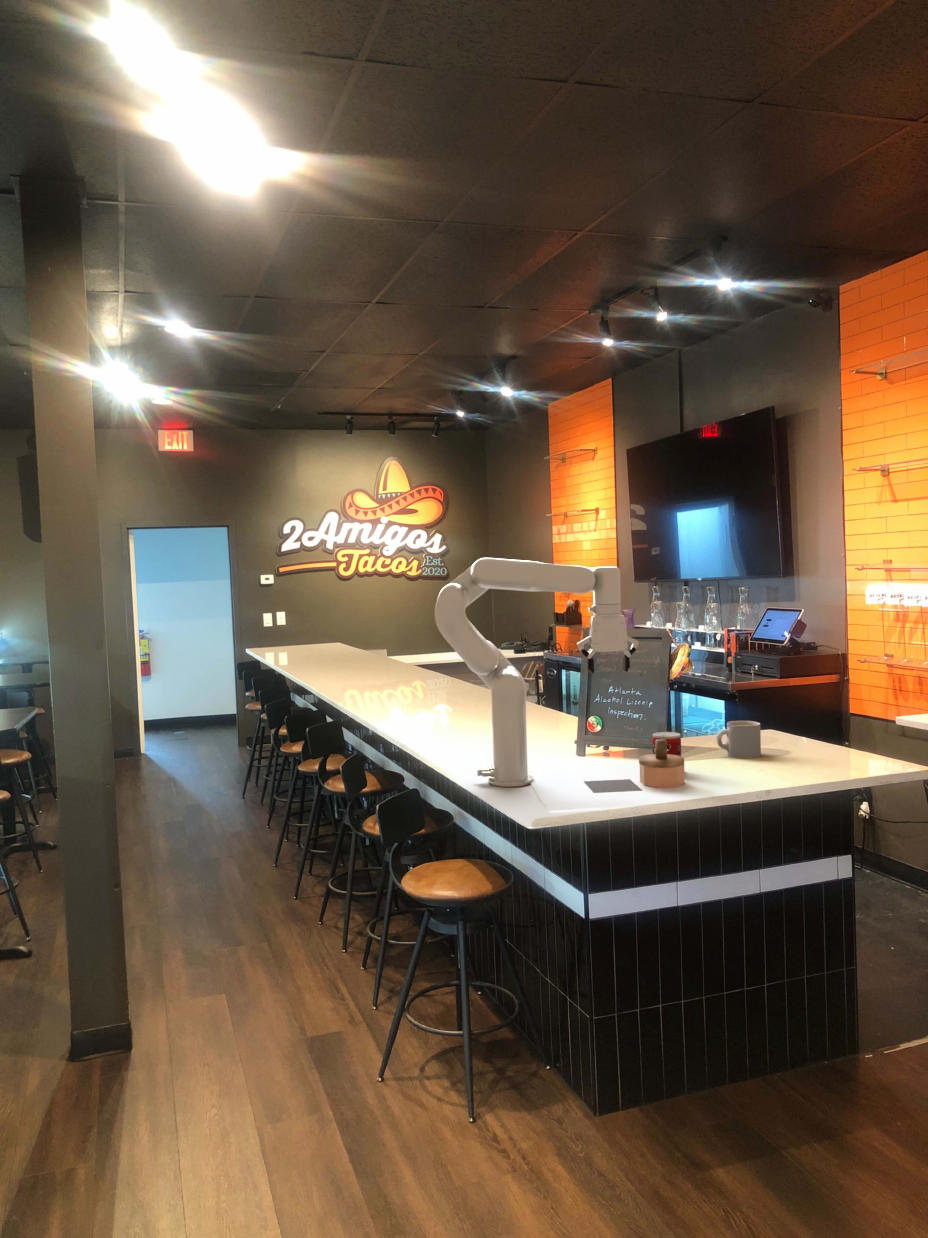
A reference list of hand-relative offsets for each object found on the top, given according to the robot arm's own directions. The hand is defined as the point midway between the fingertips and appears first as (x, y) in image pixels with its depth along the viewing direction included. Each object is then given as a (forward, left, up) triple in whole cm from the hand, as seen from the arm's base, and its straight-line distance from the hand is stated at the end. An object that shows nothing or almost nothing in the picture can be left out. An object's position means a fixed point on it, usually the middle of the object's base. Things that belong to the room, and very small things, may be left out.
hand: (608, 671), depth 251 cm
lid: (+12, -9, -24) cm, 29 cm away
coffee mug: (+46, +24, -31) cm, 60 cm away
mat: (-2, -10, -30) cm, 32 cm away
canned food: (+18, +6, -31) cm, 36 cm away
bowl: (+12, -9, -30) cm, 34 cm away
